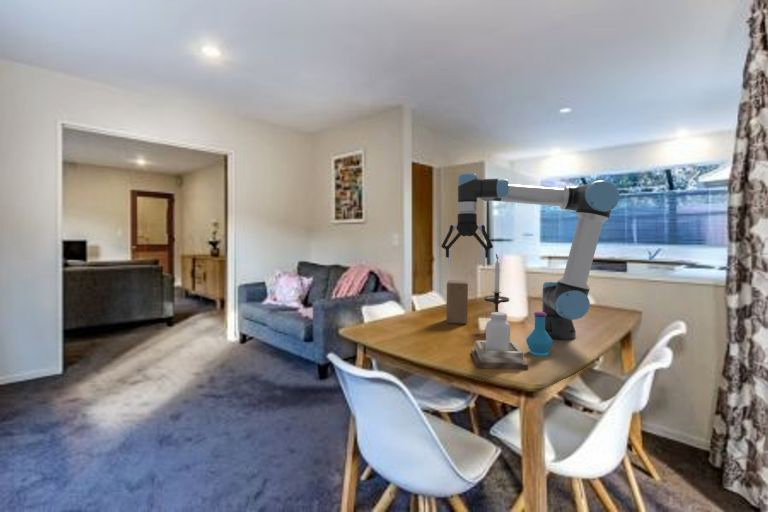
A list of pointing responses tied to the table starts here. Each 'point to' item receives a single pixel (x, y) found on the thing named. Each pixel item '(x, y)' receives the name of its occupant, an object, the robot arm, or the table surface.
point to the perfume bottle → (539, 337)
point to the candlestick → (496, 289)
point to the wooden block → (457, 302)
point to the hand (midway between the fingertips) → (466, 265)
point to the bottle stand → (498, 357)
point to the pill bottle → (498, 333)
